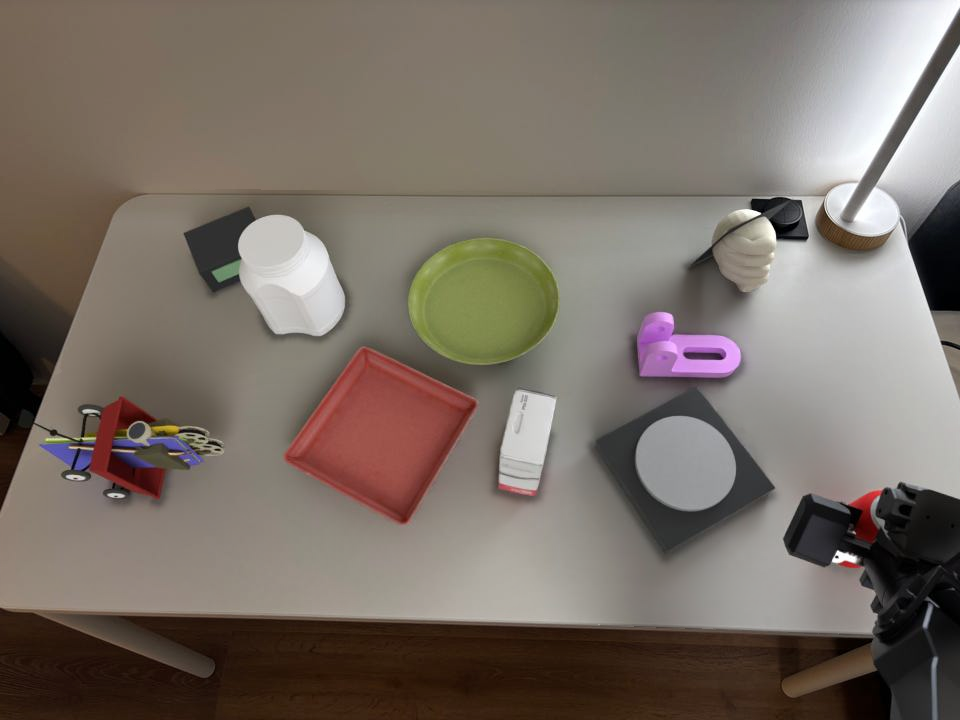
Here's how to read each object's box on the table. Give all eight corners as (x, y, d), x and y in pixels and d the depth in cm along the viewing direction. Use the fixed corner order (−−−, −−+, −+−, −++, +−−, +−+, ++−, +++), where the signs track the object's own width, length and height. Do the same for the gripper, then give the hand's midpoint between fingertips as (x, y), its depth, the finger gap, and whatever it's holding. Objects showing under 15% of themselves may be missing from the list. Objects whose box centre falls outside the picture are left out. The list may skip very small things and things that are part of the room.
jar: (350, 280, 95) (324, 211, 81) (338, 337, 90) (309, 274, 77) (274, 277, 96) (235, 208, 82) (258, 333, 91) (215, 270, 78)
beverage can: (881, 562, 73) (943, 538, 63) (829, 576, 73) (884, 554, 62) (854, 510, 76) (909, 479, 66) (804, 522, 76) (852, 493, 65)
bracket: (639, 376, 86) (649, 350, 79) (636, 339, 88) (646, 311, 82) (740, 378, 85) (758, 352, 79) (734, 340, 87) (751, 313, 81)
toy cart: (96, 437, 86) (241, 422, 84) (79, 507, 81) (232, 492, 80) (-7, 381, 71) (167, 361, 69) (-34, 462, 66) (151, 443, 64)
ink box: (538, 498, 78) (542, 466, 68) (497, 489, 79) (495, 456, 69) (551, 433, 82) (557, 393, 72) (512, 425, 83) (512, 384, 73)
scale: (769, 493, 78) (778, 485, 75) (664, 554, 75) (670, 548, 72) (692, 393, 84) (698, 383, 81) (594, 446, 81) (596, 437, 79)
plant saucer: (366, 354, 89) (361, 342, 86) (482, 411, 84) (481, 400, 81) (287, 467, 82) (279, 458, 79) (410, 535, 77) (406, 529, 74)
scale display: (278, 266, 96) (267, 245, 92) (213, 293, 95) (199, 273, 90) (260, 228, 100) (248, 206, 96) (197, 254, 98) (183, 232, 94)
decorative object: (772, 283, 94) (715, 311, 92) (735, 223, 96) (678, 250, 94) (825, 247, 82) (761, 280, 80) (782, 179, 83) (718, 209, 81)
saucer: (587, 299, 92) (590, 286, 89) (495, 404, 85) (495, 394, 82) (474, 228, 98) (473, 214, 95) (380, 320, 91) (376, 308, 88)
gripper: (1096, 569, 50) (1006, 483, 65) (845, 483, 54) (812, 420, 69) (1023, 677, 54) (952, 573, 68) (792, 590, 58) (772, 509, 72)
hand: (872, 516), depth 69 cm, fingers closed on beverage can, 6 cm apart
